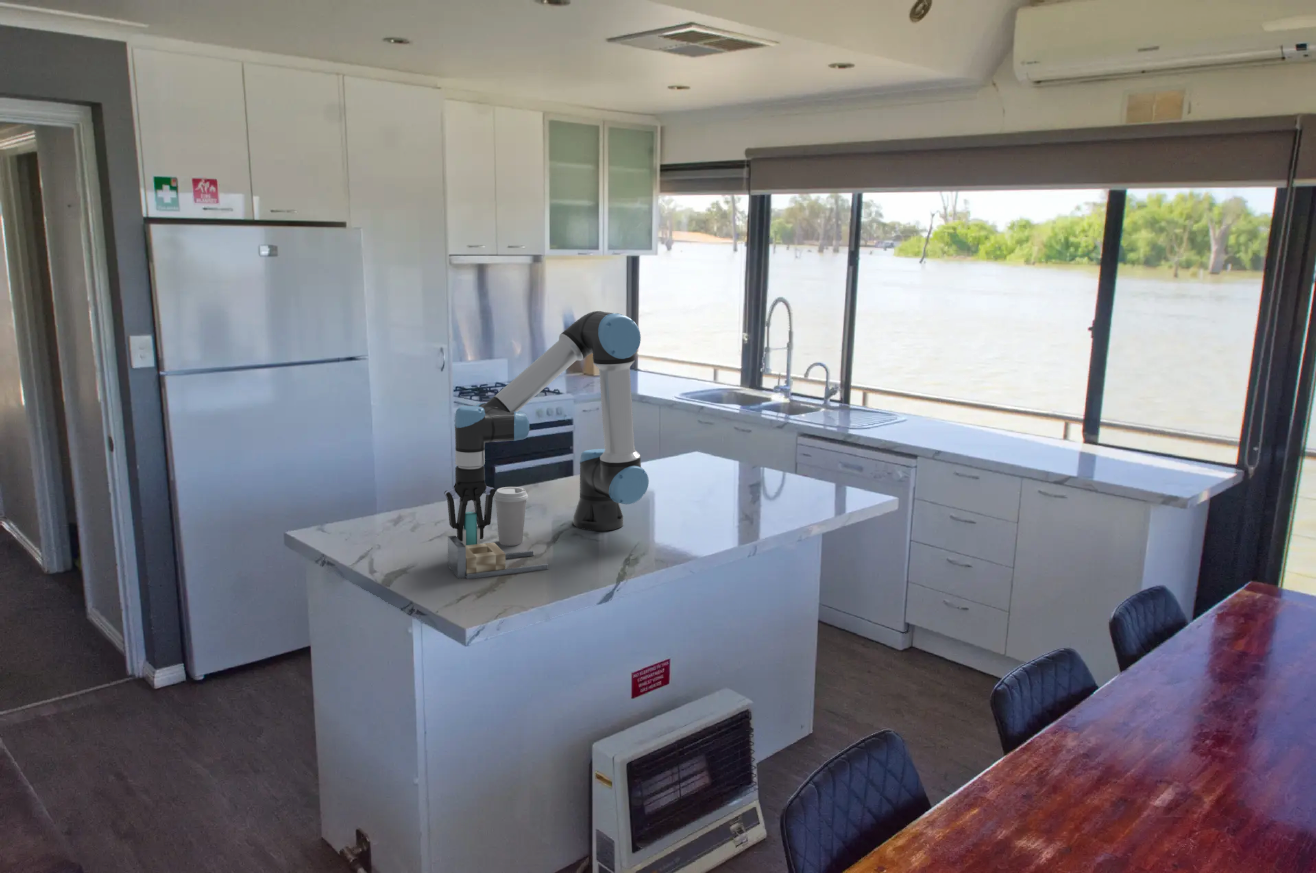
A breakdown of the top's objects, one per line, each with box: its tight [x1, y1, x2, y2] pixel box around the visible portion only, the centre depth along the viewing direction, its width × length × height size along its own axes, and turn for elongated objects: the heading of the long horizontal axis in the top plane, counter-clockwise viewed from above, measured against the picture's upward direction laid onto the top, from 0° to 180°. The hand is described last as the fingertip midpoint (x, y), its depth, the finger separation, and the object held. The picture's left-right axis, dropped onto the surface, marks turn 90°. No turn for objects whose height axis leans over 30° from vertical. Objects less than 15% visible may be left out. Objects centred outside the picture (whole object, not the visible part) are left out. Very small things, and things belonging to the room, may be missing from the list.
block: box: [465, 542, 506, 574], centre depth 238 cm, size 10×10×5 cm
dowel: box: [463, 511, 478, 545], centre depth 246 cm, size 3×3×12 cm
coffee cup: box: [493, 486, 529, 547], centre depth 260 cm, size 10×10×15 cm
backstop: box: [447, 535, 549, 580], centre depth 239 cm, size 23×12×8 cm, turn 116°
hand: (470, 551), depth 247 cm, fingers closed on dowel, 3 cm apart
